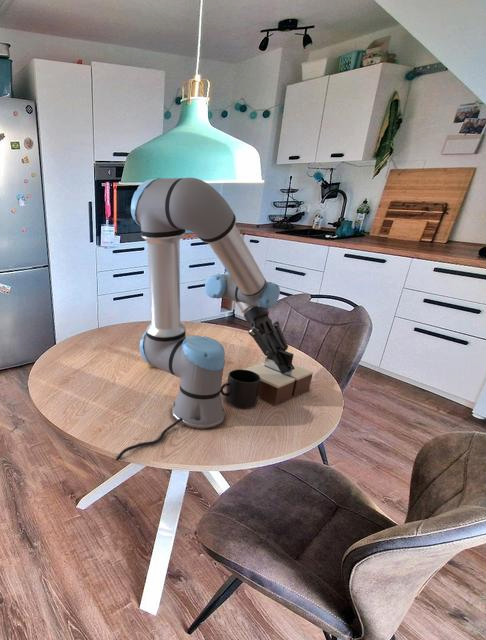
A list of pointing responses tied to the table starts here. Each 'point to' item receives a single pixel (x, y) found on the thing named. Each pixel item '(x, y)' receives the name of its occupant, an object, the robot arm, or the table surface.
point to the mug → (242, 388)
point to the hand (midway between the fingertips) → (288, 371)
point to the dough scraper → (287, 358)
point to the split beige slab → (281, 383)
